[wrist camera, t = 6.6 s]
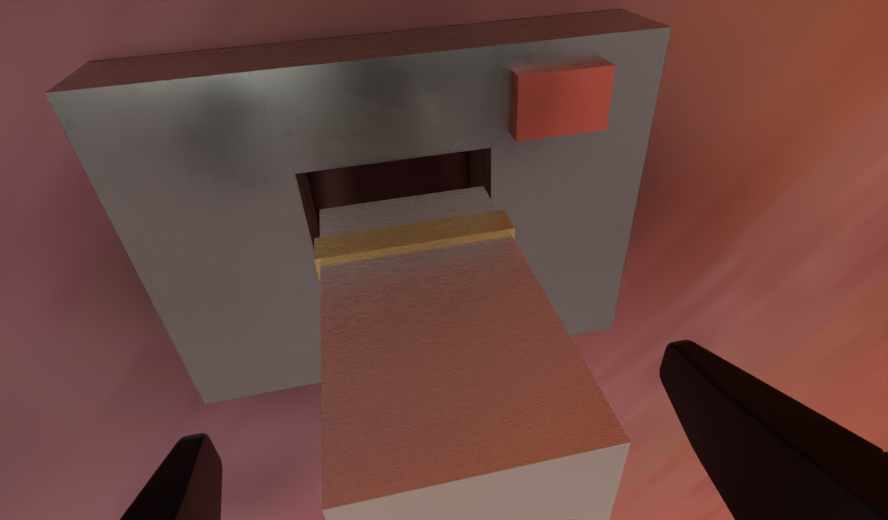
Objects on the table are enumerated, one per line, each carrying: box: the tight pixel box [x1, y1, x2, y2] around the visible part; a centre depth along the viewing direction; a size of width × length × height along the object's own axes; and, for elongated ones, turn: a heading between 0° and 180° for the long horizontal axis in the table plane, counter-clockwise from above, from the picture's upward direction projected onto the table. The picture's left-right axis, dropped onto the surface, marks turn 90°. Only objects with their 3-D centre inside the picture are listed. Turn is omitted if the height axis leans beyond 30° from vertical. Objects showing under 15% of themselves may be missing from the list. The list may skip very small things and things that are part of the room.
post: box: [314, 186, 631, 520], centre depth 11 cm, size 4×4×7 cm
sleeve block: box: [45, 9, 671, 404], centre depth 15 cm, size 14×10×3 cm
